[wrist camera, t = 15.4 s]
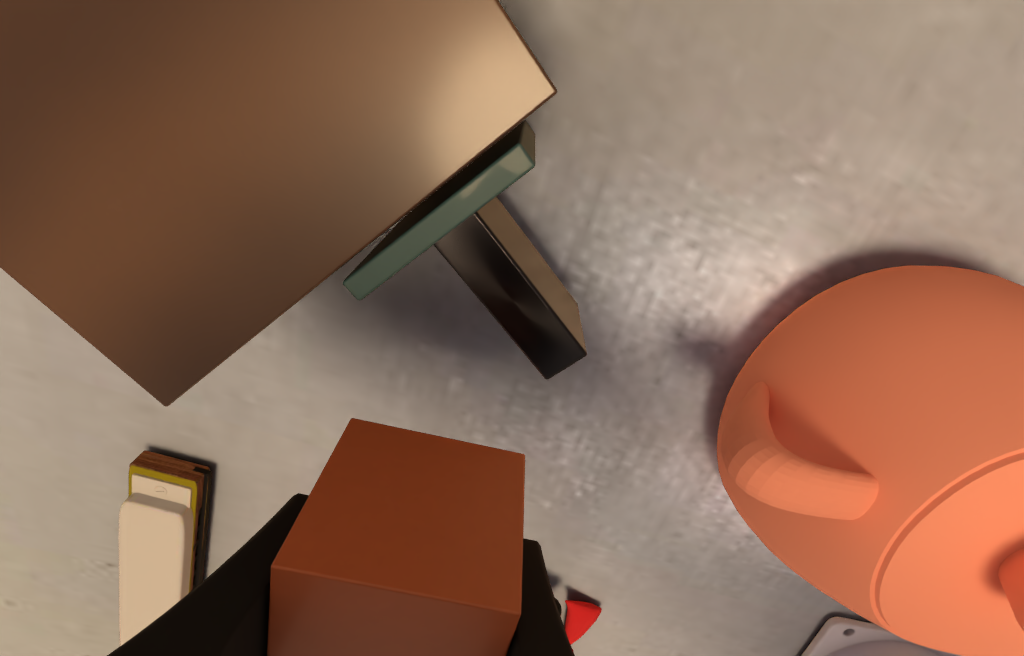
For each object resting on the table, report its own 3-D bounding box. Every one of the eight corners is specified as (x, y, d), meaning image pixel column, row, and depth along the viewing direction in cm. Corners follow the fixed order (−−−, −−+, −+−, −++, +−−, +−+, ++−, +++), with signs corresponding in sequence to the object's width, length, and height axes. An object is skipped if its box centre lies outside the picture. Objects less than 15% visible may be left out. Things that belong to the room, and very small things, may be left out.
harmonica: (198, 659, 30) (177, 696, 28) (143, 646, 29) (117, 683, 28) (217, 464, 24) (191, 495, 22) (147, 445, 23) (115, 476, 22)
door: (619, 256, 19) (660, 340, 13) (502, 334, 20) (489, 443, 14) (524, 120, 17) (519, 141, 11) (404, 217, 18) (340, 283, 12)
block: (525, 453, 12) (522, 614, 8) (489, 573, 14) (473, 750, 10) (351, 416, 12) (269, 566, 8) (336, 544, 13) (263, 714, 10)
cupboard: (549, 87, 17) (558, 92, 10) (290, 297, 20) (165, 408, 13) (261, -346, 13) (-47, -826, 6) (3, 4, 16) (-380, -51, 9)
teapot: (742, 190, 18) (939, 294, 9) (1197, 335, 19) (1730, 541, 11) (612, 464, 23) (658, 696, 14) (980, 561, 24) (1224, 825, 16)
